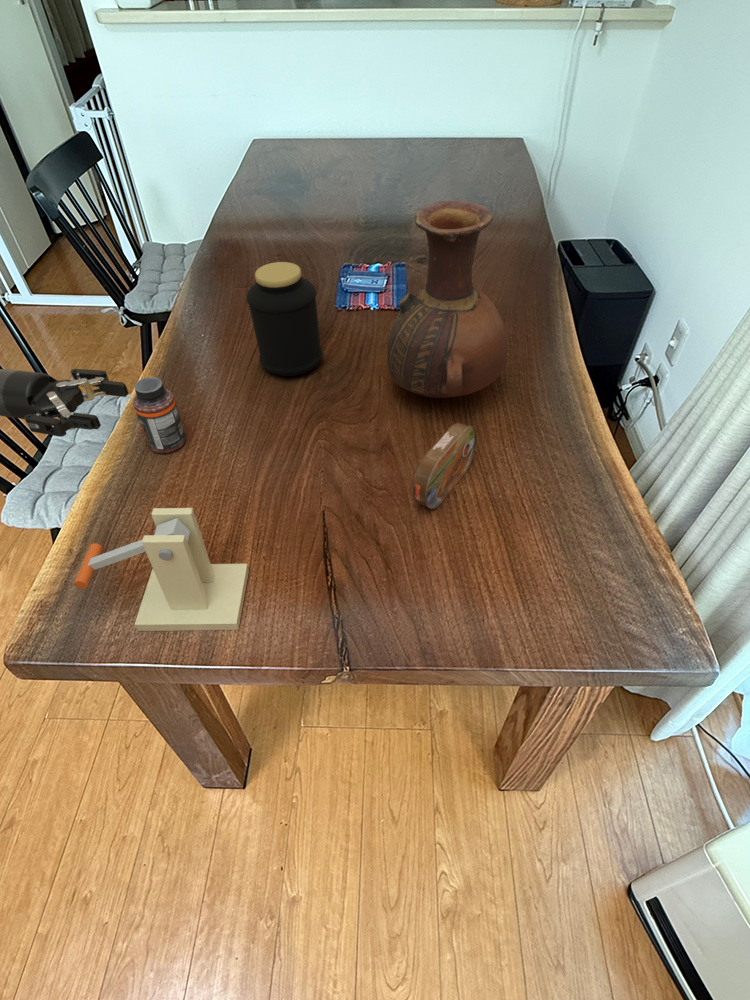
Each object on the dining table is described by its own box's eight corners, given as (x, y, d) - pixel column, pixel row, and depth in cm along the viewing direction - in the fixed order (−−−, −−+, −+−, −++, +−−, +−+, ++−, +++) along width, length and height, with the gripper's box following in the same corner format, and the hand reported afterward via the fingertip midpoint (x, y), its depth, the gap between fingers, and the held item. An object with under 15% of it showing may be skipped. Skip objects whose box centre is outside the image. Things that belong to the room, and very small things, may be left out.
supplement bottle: (145, 437, 97) (124, 378, 89) (182, 427, 98) (164, 368, 90) (152, 459, 93) (130, 399, 85) (190, 449, 95) (172, 389, 86)
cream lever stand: (137, 631, 71) (98, 557, 61) (156, 571, 77) (124, 495, 68) (238, 630, 71) (215, 556, 61) (249, 570, 77) (230, 494, 68)
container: (244, 369, 111) (226, 274, 98) (288, 341, 117) (276, 249, 105) (294, 391, 106) (282, 294, 93) (336, 360, 112) (330, 267, 100)
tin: (426, 520, 83) (430, 476, 77) (407, 511, 84) (409, 467, 79) (476, 461, 92) (482, 417, 86) (457, 453, 93) (463, 410, 87)
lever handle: (83, 592, 68) (67, 580, 67) (99, 554, 72) (84, 542, 71) (183, 557, 64) (168, 544, 62) (194, 519, 68) (180, 506, 66)
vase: (378, 358, 113) (377, 187, 92) (480, 350, 115) (503, 181, 93) (398, 440, 96) (402, 254, 74) (518, 430, 97) (556, 244, 76)
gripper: (-23, 401, 87) (79, 413, 84) (35, 350, 97) (127, 360, 94) (1, 441, 92) (97, 453, 90) (53, 389, 102) (141, 399, 100)
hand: (112, 405), depth 92 cm, fingers open, 8 cm apart
